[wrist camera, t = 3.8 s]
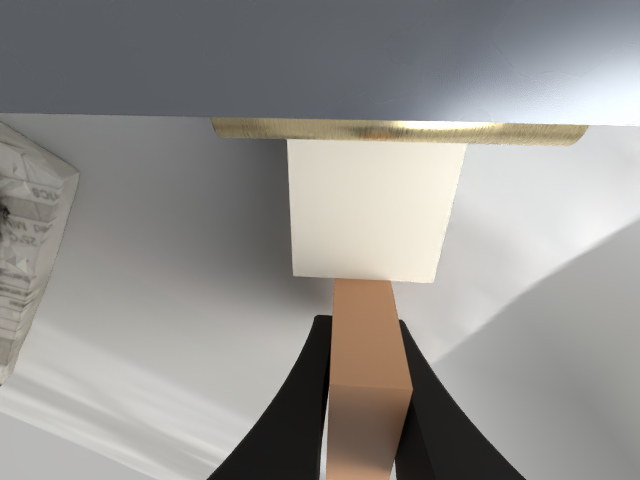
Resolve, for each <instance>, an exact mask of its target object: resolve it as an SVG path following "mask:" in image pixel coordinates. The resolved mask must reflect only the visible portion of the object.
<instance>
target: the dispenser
mask: <svg viewBox="0 0 640 480" xmlns="http://www.w3.org/2000/svg"><path fill="white" fill-rule="evenodd" d="M0 113H42V114H90V115H139V116H187V117H211V120H212V124H213V127H214V130H215V132H216V133H217V135H218V136H219V137H221V138H257V139H298V140H339V141H380V142H421V143H462V144H503V145H544V146H569V145H572V144H574V143H575V142H577V141H578V140H579V139H580V138H581V137H582V136H583V134H584V133H585V131H586V130H587V128H588V126H589V125H621V126H640V0H0Z"/></svg>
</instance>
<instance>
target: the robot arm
mask: <svg viewBox="0 0 640 480" xmlns="http://www.w3.org/2000/svg"><path fill="white" fill-rule="evenodd" d="M332 320H333V316H329V315H317V316H315V317H314V322H313V325H312V328H311V331H310V333H309V336H308V338H307V340H306V343H305V345H304V347H303V349H302V351H301V353H300V355H299V357H298V359H297V361H296V363H295V365H294V366H293V368H292V370H291V372H290V373H289V375H288V377H287V379H286V380H285V382H284V384H283V385H282V387H281V388H280V390H279V392H278V393H277V395H276V396H275V398H274V399H273V400H272V402H271V403H270V405H269V406H268V408H267V409H266V410H265V412H264V413H263V414H262V416H261V417H260V418H259V420H258V421H257V422H256V424H255V425H254V426H253V428H252V429H251V430H250V431H249V433H248V434H247V435H246V436H245V437H244V439H243V440H242V441H241V442H240V443H239V444H238V446H237V447H236V448H235V449H234V450H233V452H232V453H231V454H230V455H229V456H228V457H227V458H226V460H225V461H224V462H223V463H222V464H221V465H220V466H219V467H218V468H217V469H216V470H215V471H214V472H213V473H212V474H211V475H210V476H209V478H208V479H207V480H319V477H320V460H321V446H322V436H323V429H324V421H325V414H326V407H327V399H328V392H329V384H330V363H331V342H332ZM398 320H399V319H398ZM399 325H400V329H401V334H402V339H403V344H404V349H405V354H406V358H407V363H408V368H409V373H410V378H411V383H412V388H413V391H412V395H411V399H410V403H409V406H408V410H407V414H406V418H405V422H404V425H403V429H402V433H401V437H400V440H399V444H398V448H397V452H396V456H395V467H396V478H397V480H526V479H525V478H524V477H523V476H522V475H521V474H520V473H519V472H518V471H517V470H516V469H515V468H514V467H513V466H512V465H511V464H510V463H509V462H508V461H507V460H506V459H505V458H504V457H503V456H502V455H501V454H500V453H499V452H498V451H497V449H495V447H494V446H493V445H492V444H491V443H490V442H489V441H488V440H487V439H486V438H485V437H484V436H483V435H482V433H481V432H480V431H479V430H478V429H477V428H476V426H475V425H474V424H473V423H472V422H471V421H470V419H468V417H467V416H466V415H465V413H464V412H463V411H462V410H461V409H460V407H459V406H458V405H457V404H456V402H455V401H454V400H453V398H452V397H451V396H450V394H449V393H448V392H447V390H446V389H445V388H444V386H443V385H442V383H441V382H440V381H439V379H438V378H437V376H436V375H435V373H434V372H433V370H432V369H431V367H430V366H429V364H428V362H427V361H426V359H425V358H424V356H423V355H422V353H421V351H420V350H419V348H418V346H417V345H416V343H415V341H414V339H413V338H412V336H411V334H410V332H409V330H408V328H407V326H406V324H405V322H404V321H403V320H399Z"/></svg>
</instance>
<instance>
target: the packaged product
mask: <svg viewBox="0 0 640 480" xmlns="http://www.w3.org/2000/svg"><path fill="white" fill-rule="evenodd" d="M79 175H80V172H79V171H78V170H76V169H75V168H74V167H72V166H71V165H69V164H68V163H66V162H65V161H63V160H61V159H60V158H58V157H57V156H55V155H53V154H52V153H50V152H48V151H47V150H45V149H44V148H42V147H40V146H39V145H37V144H36V143H34V142H32V141H31V140H29V139H28V138H26V137H24V136H23V135H21V134H19V133H18V132H16V131H15V130H13V129H11V128H10V127H8V126H7V125H5V124H3V123H2V122H0V386H1V385H2V384H3V383H4V382H5V381H6V380H7V378H8V377H9V376H10V375H11V374H12V372H13V370H14V367H15V364H16V361H17V358H18V354H19V351H20V349H21V346H22V344H23V342H24V340H25V338H26V336H27V334H28V331H29V329H30V327H31V325H32V321H33V319H34V316H35V313H36V311H37V308H38V306H39V303H40V301H41V298H42V296H43V293H44V291H45V288H46V285H47V283H48V280H49V277H50V274H51V271H52V268H53V265H54V263H55V260H56V257H57V253H58V250H59V247H60V243H61V240H62V237H63V233H64V230H65V227H66V223H67V220H68V216H69V213H70V210H71V206H72V203H73V200H74V196H75V193H76V190H77V186H78V181H79Z"/></svg>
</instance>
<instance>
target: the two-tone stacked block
mask: <svg viewBox="0 0 640 480" xmlns="http://www.w3.org/2000/svg"><path fill="white" fill-rule="evenodd" d="M466 148H467V144H462V143H421V142H380V141H339V140H298V139H287V151H288V174H289V196H290V218H291V241H292V263H293V276H301V277H322V278H334V298H333V320H332V342H331V363H330V386H329V411H328V437H327V463H326V480H389V478H390V474H391V470H392V467H393V463H394V459H395V456H396V452H397V448H398V444H399V440H400V437H401V433H402V429H403V425H404V422H405V418H406V414H407V410H408V406H409V403H410V399H411V395H412V391H413V388H412V383H411V378H410V373H409V368H408V363H407V358H406V354H405V349H404V344H403V339H402V334H401V329H400V325H399V320H398V315H397V310H396V305H395V300H394V296H393V291H392V286H391V281H404V282H424V283H433V282H434V278H435V274H436V270H437V266H438V262H439V257H440V253H441V249H442V245H443V241H444V237H445V233H446V229H447V225H448V221H449V217H450V213H451V209H452V205H453V201H454V197H455V193H456V189H457V185H458V181H459V177H460V173H461V168H462V164H463V160H464V156H465V152H466Z"/></svg>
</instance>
